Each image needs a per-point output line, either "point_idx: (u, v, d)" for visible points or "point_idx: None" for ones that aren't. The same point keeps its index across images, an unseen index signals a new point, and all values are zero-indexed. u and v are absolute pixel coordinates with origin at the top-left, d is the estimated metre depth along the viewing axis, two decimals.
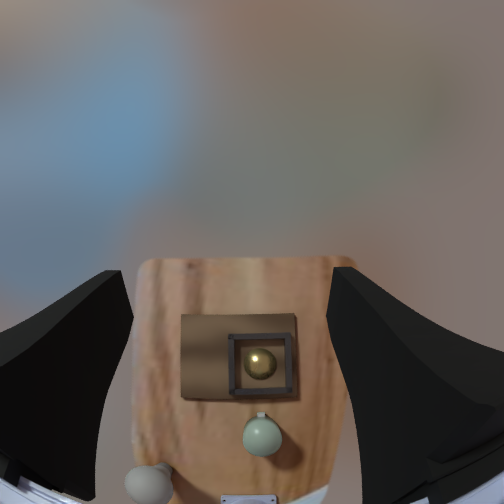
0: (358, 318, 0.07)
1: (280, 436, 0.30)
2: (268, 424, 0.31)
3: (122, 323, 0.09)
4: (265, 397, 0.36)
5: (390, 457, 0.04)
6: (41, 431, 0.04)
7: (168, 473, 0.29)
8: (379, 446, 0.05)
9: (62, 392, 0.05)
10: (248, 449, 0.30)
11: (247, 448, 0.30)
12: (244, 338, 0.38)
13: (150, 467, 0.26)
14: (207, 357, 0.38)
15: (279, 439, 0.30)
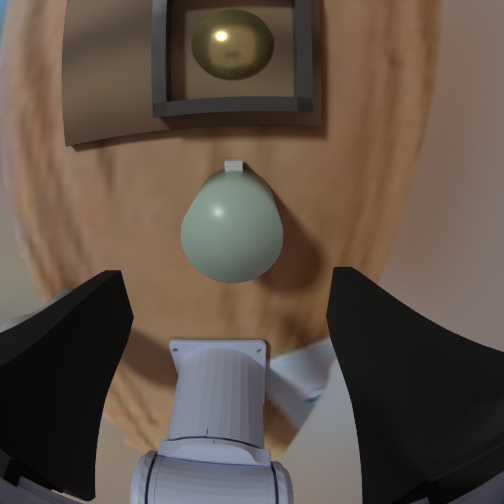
0: (358, 318, 0.07)
1: (279, 230, 0.13)
2: (247, 194, 0.13)
3: (122, 323, 0.09)
4: (244, 122, 0.15)
5: (390, 457, 0.04)
6: (41, 431, 0.04)
7: None
8: (379, 446, 0.05)
9: (62, 392, 0.05)
10: (197, 264, 0.14)
11: (194, 261, 0.14)
12: None
13: (16, 324, 0.13)
14: (111, 47, 0.12)
15: (277, 239, 0.14)
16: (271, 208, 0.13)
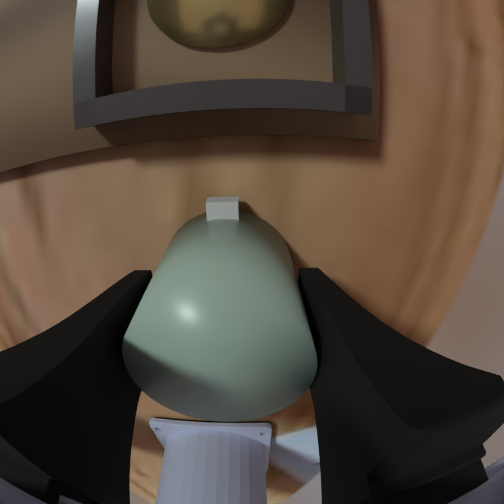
0: (317, 321, 0.07)
1: (310, 362, 0.06)
2: (247, 306, 0.06)
3: None
4: (241, 129, 0.08)
5: (340, 468, 0.04)
6: (81, 445, 0.04)
7: None
8: (332, 455, 0.05)
9: (100, 401, 0.05)
10: (161, 400, 0.07)
11: (156, 396, 0.07)
12: None
13: None
14: (32, 22, 0.05)
15: (305, 373, 0.07)
16: (298, 330, 0.06)
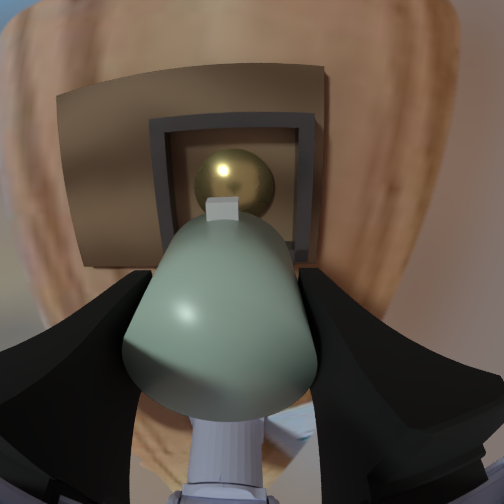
0: (316, 321, 0.07)
1: (310, 363, 0.06)
2: (246, 307, 0.06)
3: None
4: None
5: (340, 468, 0.04)
6: (81, 445, 0.04)
7: None
8: (332, 455, 0.05)
9: (100, 401, 0.05)
10: (161, 400, 0.07)
11: (156, 397, 0.07)
12: (190, 127, 0.13)
13: None
14: (113, 179, 0.16)
15: (304, 375, 0.07)
16: (298, 331, 0.06)
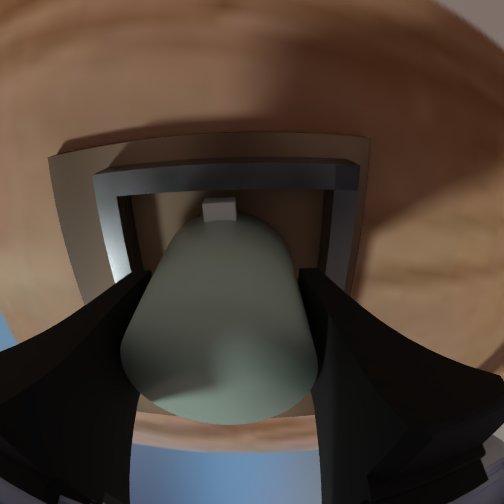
0: (316, 321, 0.07)
1: (310, 364, 0.06)
2: (243, 309, 0.05)
3: None
4: (354, 251, 0.11)
5: (340, 467, 0.04)
6: (81, 445, 0.04)
7: None
8: (332, 455, 0.05)
9: (100, 401, 0.05)
10: (161, 404, 0.07)
11: (156, 400, 0.07)
12: None
13: None
14: None
15: (305, 375, 0.06)
16: (297, 331, 0.06)
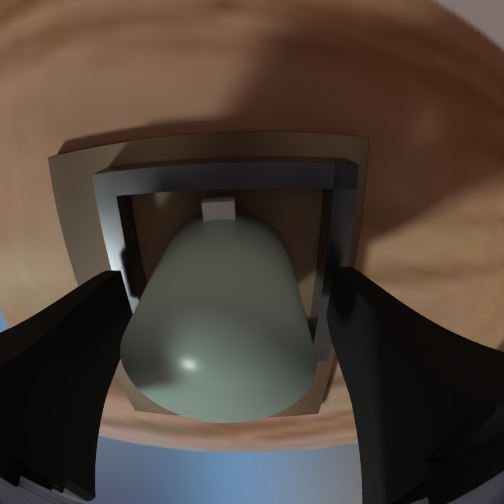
0: (358, 318, 0.07)
1: (309, 362, 0.06)
2: (242, 307, 0.06)
3: (122, 323, 0.09)
4: (353, 251, 0.11)
5: (390, 457, 0.04)
6: (41, 431, 0.04)
7: None
8: (379, 446, 0.05)
9: (62, 392, 0.05)
10: (161, 402, 0.07)
11: (156, 399, 0.07)
12: None
13: None
14: None
15: (304, 374, 0.07)
16: (295, 329, 0.06)
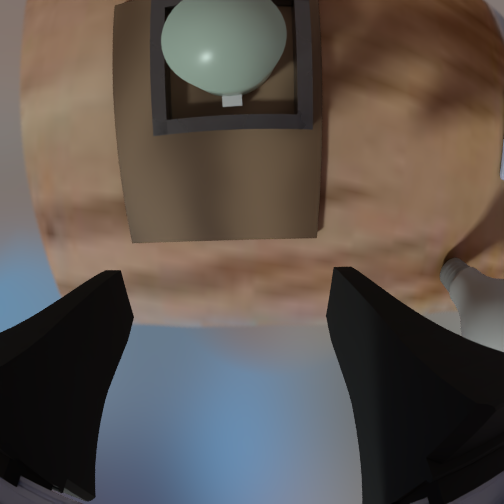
0: (358, 318, 0.07)
1: (280, 23, 0.08)
2: None
3: (122, 323, 0.09)
4: (318, 49, 0.13)
5: (390, 457, 0.04)
6: (41, 431, 0.04)
7: (469, 274, 0.16)
8: (379, 446, 0.05)
9: (62, 392, 0.05)
10: (178, 68, 0.09)
11: (175, 66, 0.09)
12: (163, 95, 0.13)
13: (473, 325, 0.13)
14: (218, 180, 0.16)
15: (279, 32, 0.09)
16: (269, 0, 0.08)
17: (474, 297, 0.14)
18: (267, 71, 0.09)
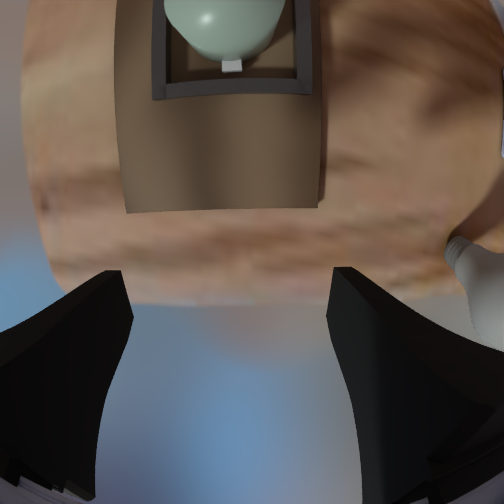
0: (358, 318, 0.07)
1: None
2: None
3: (122, 323, 0.09)
4: (317, 20, 0.12)
5: (390, 456, 0.04)
6: (41, 431, 0.04)
7: (475, 250, 0.15)
8: (379, 446, 0.05)
9: (62, 392, 0.05)
10: (180, 25, 0.08)
11: (177, 22, 0.08)
12: (163, 61, 0.12)
13: (482, 299, 0.12)
14: (216, 146, 0.16)
15: None
16: None
17: (482, 271, 0.13)
18: (266, 27, 0.09)
